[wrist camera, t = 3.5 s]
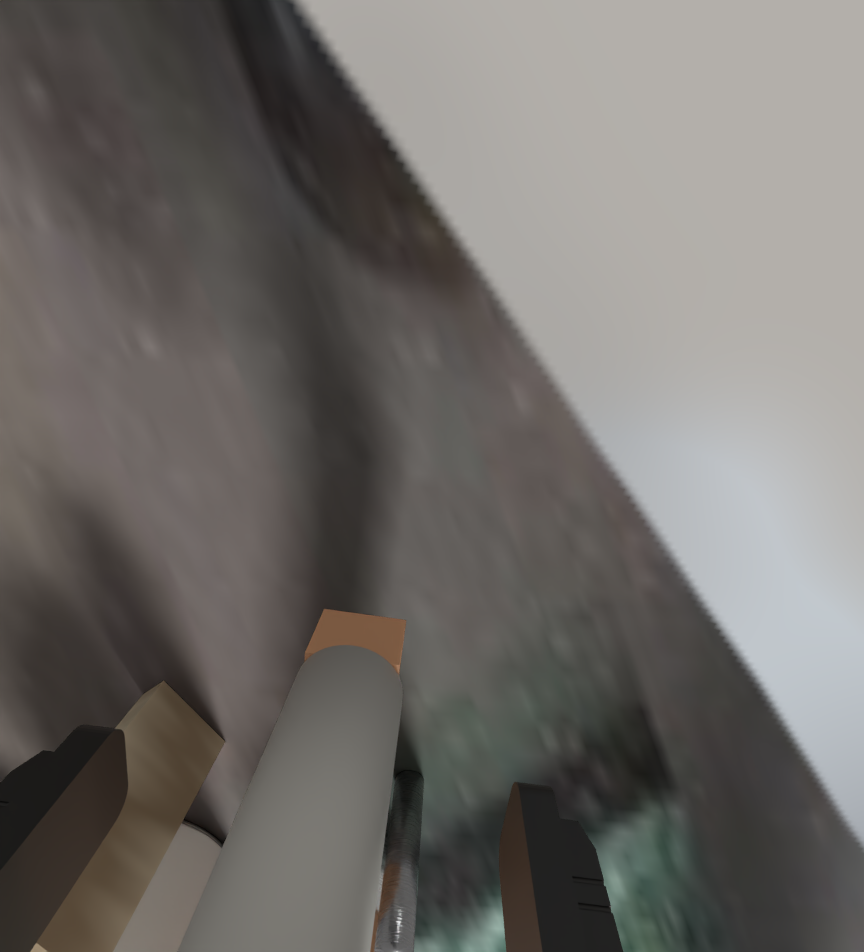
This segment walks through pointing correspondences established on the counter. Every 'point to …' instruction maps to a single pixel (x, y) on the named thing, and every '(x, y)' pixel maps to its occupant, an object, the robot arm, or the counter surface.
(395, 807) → the crusher base
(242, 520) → the counter surface
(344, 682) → the lever
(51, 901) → the robot arm
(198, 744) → the slat
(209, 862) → the can
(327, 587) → the counter surface
